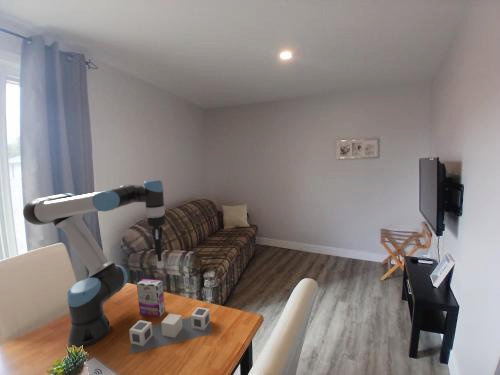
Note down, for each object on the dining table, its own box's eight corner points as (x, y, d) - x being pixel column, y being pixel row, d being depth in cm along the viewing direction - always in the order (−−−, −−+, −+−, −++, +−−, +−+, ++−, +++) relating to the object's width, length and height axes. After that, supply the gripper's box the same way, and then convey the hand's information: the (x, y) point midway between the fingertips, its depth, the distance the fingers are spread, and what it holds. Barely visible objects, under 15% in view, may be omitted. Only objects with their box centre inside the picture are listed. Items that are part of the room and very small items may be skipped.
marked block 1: (130, 343, 100) (128, 329, 99) (140, 332, 106) (139, 319, 105) (143, 346, 98) (141, 332, 97) (153, 335, 104) (151, 322, 103)
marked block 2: (191, 328, 108) (190, 315, 107) (198, 318, 114) (197, 306, 113) (204, 330, 106) (203, 317, 105) (210, 321, 112) (209, 308, 111)
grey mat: (129, 355, 95) (129, 354, 95) (134, 330, 108) (134, 329, 108) (212, 334, 104) (212, 333, 104) (207, 314, 118) (207, 313, 118)
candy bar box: (165, 311, 121) (163, 280, 118) (159, 318, 116) (157, 285, 113) (146, 308, 123) (143, 278, 121) (139, 315, 118) (136, 283, 116)
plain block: (162, 335, 104) (161, 322, 103) (170, 325, 110) (169, 313, 109) (174, 337, 102) (173, 324, 102) (182, 327, 108) (181, 315, 107)
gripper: (164, 218, 102) (169, 271, 105) (165, 211, 114) (169, 259, 118) (145, 220, 100) (150, 275, 103) (147, 213, 112) (152, 262, 115)
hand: (160, 266), depth 110 cm, fingers closed
